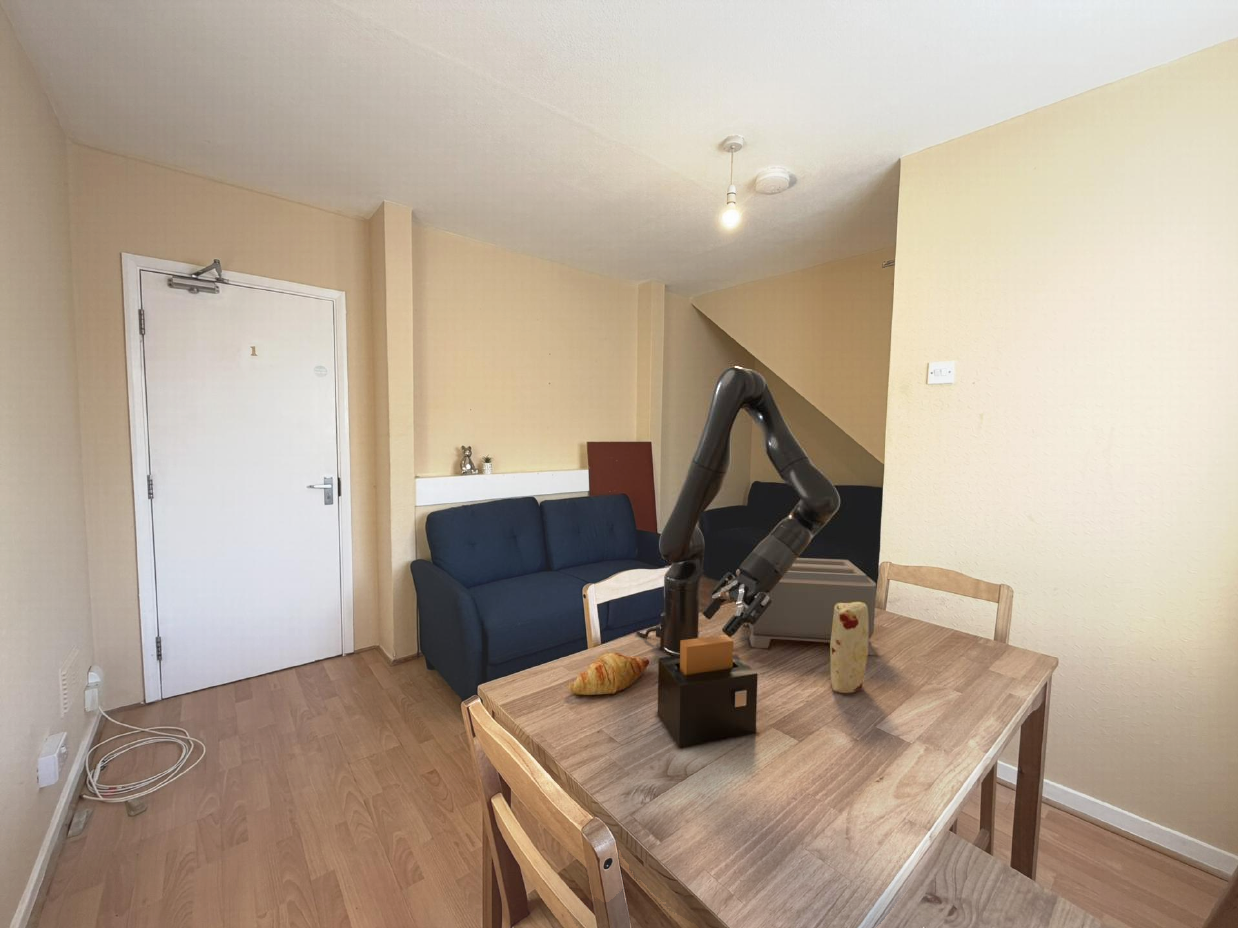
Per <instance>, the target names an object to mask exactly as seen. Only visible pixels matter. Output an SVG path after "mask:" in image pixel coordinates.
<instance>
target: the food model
mask: <svg viewBox="0 0 1238 928" xmlns="http://www.w3.org/2000/svg"><path fill="white" fill-rule="evenodd" d="M868 632H869V623H868V608H867V606H866V604H865V603H862V602H852V603H837V604H836V605H835V607H834V616H833V625H832V634H831V642H829V645H830V646H829V653H830V657H829V658H830V659H829V660H830V662H829V663H830V664H829V665H830V682H831V687H832V689H833V691H834V692H838V693H841V694H849V693H850V694H851V693H855V692H858V691H859V690H861V689H862V688H863V683H864V678H865V672H866V667H867V661H868V656H869V655H868Z"/></svg>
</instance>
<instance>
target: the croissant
mask: <svg viewBox="0 0 1238 928" xmlns="http://www.w3.org/2000/svg"><path fill="white" fill-rule="evenodd" d="M649 664H650V659H648V658H647V657H642V658H641V657H637V656H628V655H624V654H621V653H618V652H608V653H607V652H606V653H603V654H601V655H600V656H598V658H597V660H596V661H595V662H592V663H591V664H589V666H588V668H587V670H585V671H584V672H582V673H580V674H578V676H577V678H575V681H572V682H570V683H569V684H568V691H569V692H570V693H571V694H573V695H584V696H594V695H595V696H596V695H597V696H599V695H610V694H615V693H616V692H619V691H622V690H624V689H626V688H628V687H629V686H631V685H632V684H633V683H634V682H635V681H636V680H637V679H639V677H640V676H642V675H643V674H645V672H646V670H647V668H648V666H649Z"/></svg>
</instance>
